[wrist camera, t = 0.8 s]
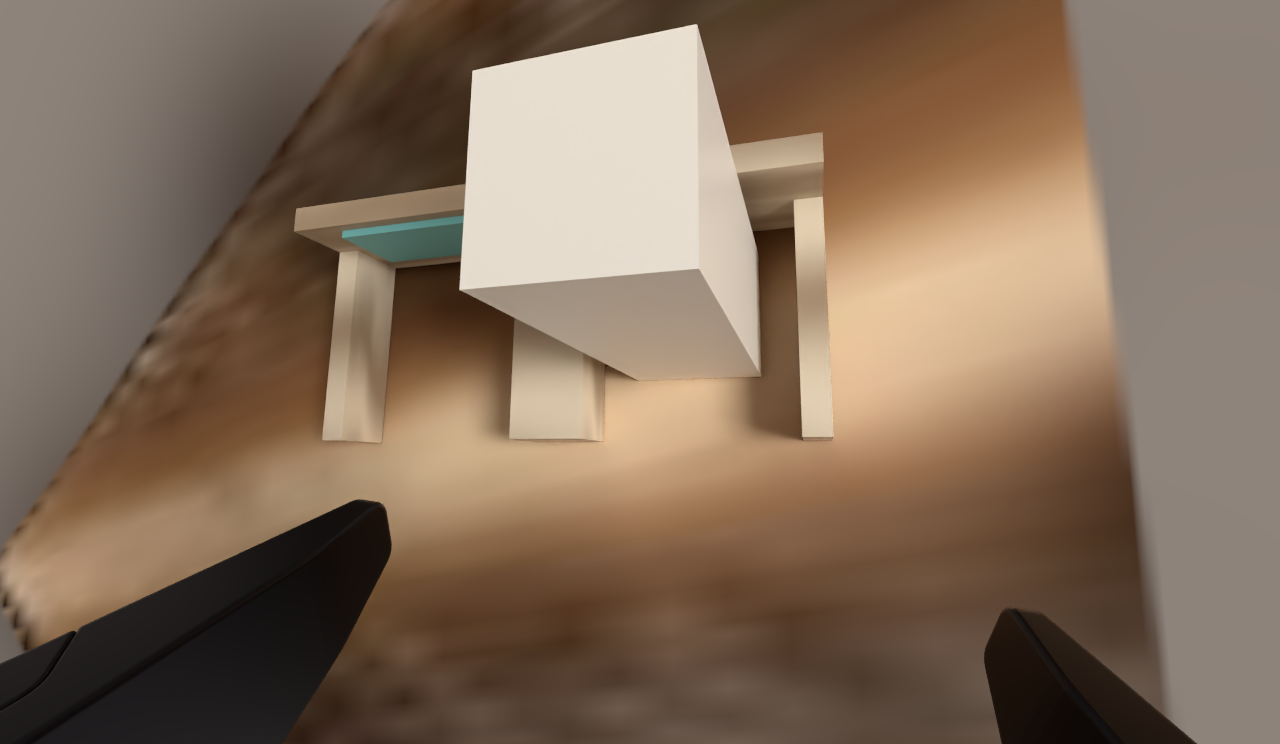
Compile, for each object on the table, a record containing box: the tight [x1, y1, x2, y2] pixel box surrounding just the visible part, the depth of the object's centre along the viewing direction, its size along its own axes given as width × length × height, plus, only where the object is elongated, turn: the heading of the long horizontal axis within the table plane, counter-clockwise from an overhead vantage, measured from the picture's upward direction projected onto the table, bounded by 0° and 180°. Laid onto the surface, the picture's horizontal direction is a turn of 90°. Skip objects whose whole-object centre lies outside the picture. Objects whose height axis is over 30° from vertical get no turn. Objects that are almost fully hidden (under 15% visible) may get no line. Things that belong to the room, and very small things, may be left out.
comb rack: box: [294, 132, 833, 443], centre depth 23 cm, size 10×21×5 cm, turn 89°
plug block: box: [459, 24, 762, 381], centre depth 18 cm, size 5×5×13 cm
